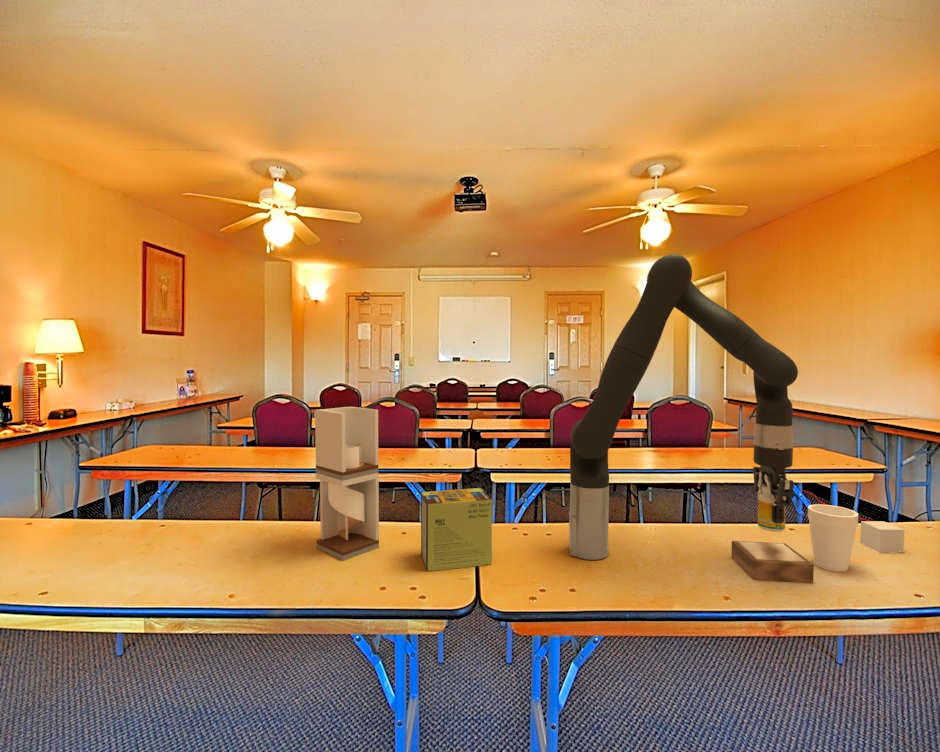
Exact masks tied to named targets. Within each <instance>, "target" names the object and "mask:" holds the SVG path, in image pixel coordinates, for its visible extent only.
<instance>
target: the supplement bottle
mask: <svg viewBox="0 0 940 752" xmlns="http://www.w3.org/2000/svg"><path fill="white" fill-rule="evenodd" d="M773 491H778V490H773ZM762 492H763V494H760V495H759V496H758V495H757V526H758V528H760V529H761V530H762V531H763V530H764V531H767V532H772V533H782V532H784V531H785V530H786V508H787V506H785V507H784V522H783V523H774V522H773V521H772V499H771V496H770V495H769V494H768V489H767V486H765V485H762ZM776 499H777V495H776Z"/></svg>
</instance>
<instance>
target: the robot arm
mask: <svg viewBox="0 0 940 752" xmlns="http://www.w3.org/2000/svg"><path fill="white" fill-rule="evenodd" d="M692 277H693V269H692V265H691V263H690V262H689V260H688V259H687V258H686V257H685V256H684V255H681V254H678V253H672V254H667V255H664V256H662V257H660V258H658V259H657V260H656V261H655V262H653V264H652V265H651V267H650V269H649V270H648V273H647V276H646V285H645V287H644V289H643V292H642V294H641V296H640V299H639V302H638V304H637V306H636V308H635V310H634V311H633V313H632V314H631V315H630V317H629V319H628V320H627V322H626V324H625V325H624V327H623V328H622V330H621V331H620V333H619V335H618V336H617V338H616V340H615V341H614V344H613V346H612V348H611V350H610V352H609V354H608V357H607V359H606V360H605V364H604V366H603V369H602V372H601V374H600V378H599V381H598V386H597V388H596V392H595V395H594V398H593V400H592V402H591V404H590V405H589V407H588V409H587V411H586V412H585V414H584V416H583V418H580V419H578V420H577V421H576V422H575V423H574V424H573V426H572V427H571V431H570V434H569V435H570V437H569V439H570V441H569V442H570V445H569V446H570V447H569V448H570V449H569V452H570V453H569V457H570V458H569V469H570V471H569V474H570V475H569V477H570V482H569V483H570V486H569V487H570V488H569V489H570V491H569V493H570V494H569V495H570V497H569V498H570V499H569V501H570V502H569V506H570V507H569V511H568V512H569V513H568V515H569V516H568V517H569V518H568V519H569V520H568V521H569V522H568V548H569V549H568V550H569V555H570V557H576V558H580V559H582V558H583V560H590V561H591V560H592V561H595V560H596V561H597V560H598V561H599V560H603V559H605V558H607V557H608V555H609V523H610V522H609V514H610V513H609V510H610V509H609V507H610V505H609V504H610V503H609V502H610V471H609V450H610V447H611V445H612V442H613V439H614V436H615V433H616V430H617V428H618V425H619V423H620V419H621V417H622V415H623V413H624V411H625V409H626V407H627V405H628V404H629V402H630V401H631V399H632V397H633V395H634V394H635V392H636V390H637V388H638V386H639V384H640V383H641V381H642V379H643V377H644V376H645V374H646V372H647V370H648V367H649V365H650V363H651V362H652V359H653V356H654V355H655V352H656V350H657V348H658V345H659V343H660V340H661V338H662V336H663V332H664V329H665V327H666V324H667V321H668V320H669V318H670V316H671V313H672V312H673V310H674V308H675V309H676V310H678V311H679V312H681V313H682V314H683V315H685V316H686V317H688V318H689V319H690V320H691V321H692V322H694V323H695V324H696V325H697V326H698V327H700V329H702V330H703V331H704V332H705V333H706V334H707V335H709V337H711V338H712V340H714V341H715V342H716V343H717V344H718V345H720V346H721V347H722V349H724V350H725V351H727V353H728V354H730V355H731V356H732V357H733V358H735V359H736V360H738V361H739V362H742V363H743V364H744V365H747V367H748V368H750V369H751V370H752V371H753V387H754V395H755V399H756V400H755V401H756V406H755V426H754V433H753V462H754V464H756V465H757V466H753V468H752V469H753V472H752V473H753V485H754V487H753V488H754V489H753V490H754V492H755V493H757V497H758V496H759V495H760V494H763V492H762V485H765V486H767V489H768V494H769V495H770V496H771V499H772V521H773V522H774V523H783V522H784V507H785V506H786V507H791V506H792V500H793V491H794V484H795V482H794V480H793V479H787V476H786V475H787V473H786V469H789V468H792V466H793V459H794V431H793V417H794V416H793V403H792V402H791V400H790V398H789V395H788V393H789V392H788V387H789V386H791V385H792V384H794V382H796V380H797V377H798V375H799V369H798V366H797V364H796V363H795V362H794V360H793V359H792V358H791V357H789V355H787V354H786V353H785V352H783V351H781V349H779V348H777V347H776V346H775V345H773V344H772V343H770V342H768V341H767V340H766V339H764V338H762V336H760V334H759V333H757V331H756V330H754V329H753V328H752V327H750V326H749V325H748V323H746V322H745V321H744V320H743V319H742V318H740V317H739V316H737V315H736V314H735V313H734V312H731V311H729V310H728V309H727V308H725V307H723V306H721V305H720V304H719V303H716V302H715V301H714V300H712V298H711V299H710V298H709V297H708V296H706V295H705V294H704V293H703V292H702V291H701V290H700V289H698V287H697V286H696V284H694V282H693V281H692ZM773 490H778V491H773ZM776 495H777V499H776Z"/></svg>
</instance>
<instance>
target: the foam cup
mask: <svg viewBox="0 0 940 752" xmlns="http://www.w3.org/2000/svg"><path fill="white" fill-rule="evenodd" d="M807 518H808V521H809V522H808V523H809V531H810V539H811V548H812V549H811V550H812V554H813V555H812V556H813V557H812V558H813V564H814V565H815V566H817V567H819V568H821V569H824V570H828V571H830V572H831V571H832V572H839V573H840V572H842V573H843V572H844V573H845V572H848V570H849V567H850V562H851V556H852V551H853V546H854V541H855V536H856V533H857V532H856V531H857V527H859V513H858V512H856V511H854V510H853V509H849V508H846V507H843V506H837V505H833V504H832V505H831V504H824V503H823V504H818V503H817V504H811V505H808V507H807Z"/></svg>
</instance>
